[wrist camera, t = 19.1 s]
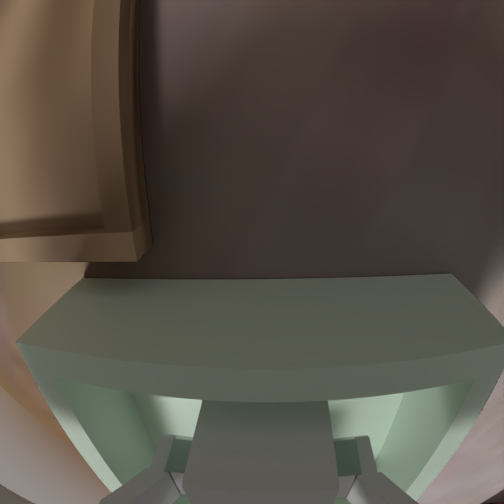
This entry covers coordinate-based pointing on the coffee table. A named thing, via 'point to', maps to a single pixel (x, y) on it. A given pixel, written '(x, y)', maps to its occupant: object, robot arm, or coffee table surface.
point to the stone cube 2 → (262, 454)
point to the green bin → (268, 363)
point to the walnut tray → (71, 132)
